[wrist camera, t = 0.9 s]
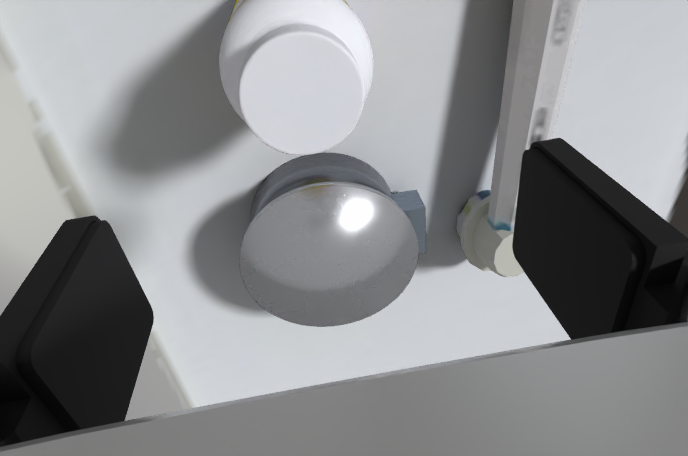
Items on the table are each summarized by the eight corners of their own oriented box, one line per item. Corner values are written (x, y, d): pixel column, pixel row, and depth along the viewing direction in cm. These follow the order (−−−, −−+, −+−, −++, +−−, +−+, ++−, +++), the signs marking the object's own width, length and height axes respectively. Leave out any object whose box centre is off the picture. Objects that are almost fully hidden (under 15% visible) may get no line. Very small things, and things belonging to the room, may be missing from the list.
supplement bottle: (328, 93, 30) (357, 194, 20) (225, 64, 28) (196, 160, 18) (361, -18, 27) (418, 35, 16) (246, -58, 25) (226, -29, 14)
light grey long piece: (648, -136, 22) (549, 297, 33) (570, -109, 28) (509, 251, 39) (543, -137, 21) (479, 303, 33) (486, -110, 27) (449, 255, 39)
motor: (225, 160, 32) (217, 203, 27) (410, 131, 32) (433, 169, 28) (262, 287, 39) (261, 338, 34) (414, 262, 39) (433, 309, 35)
